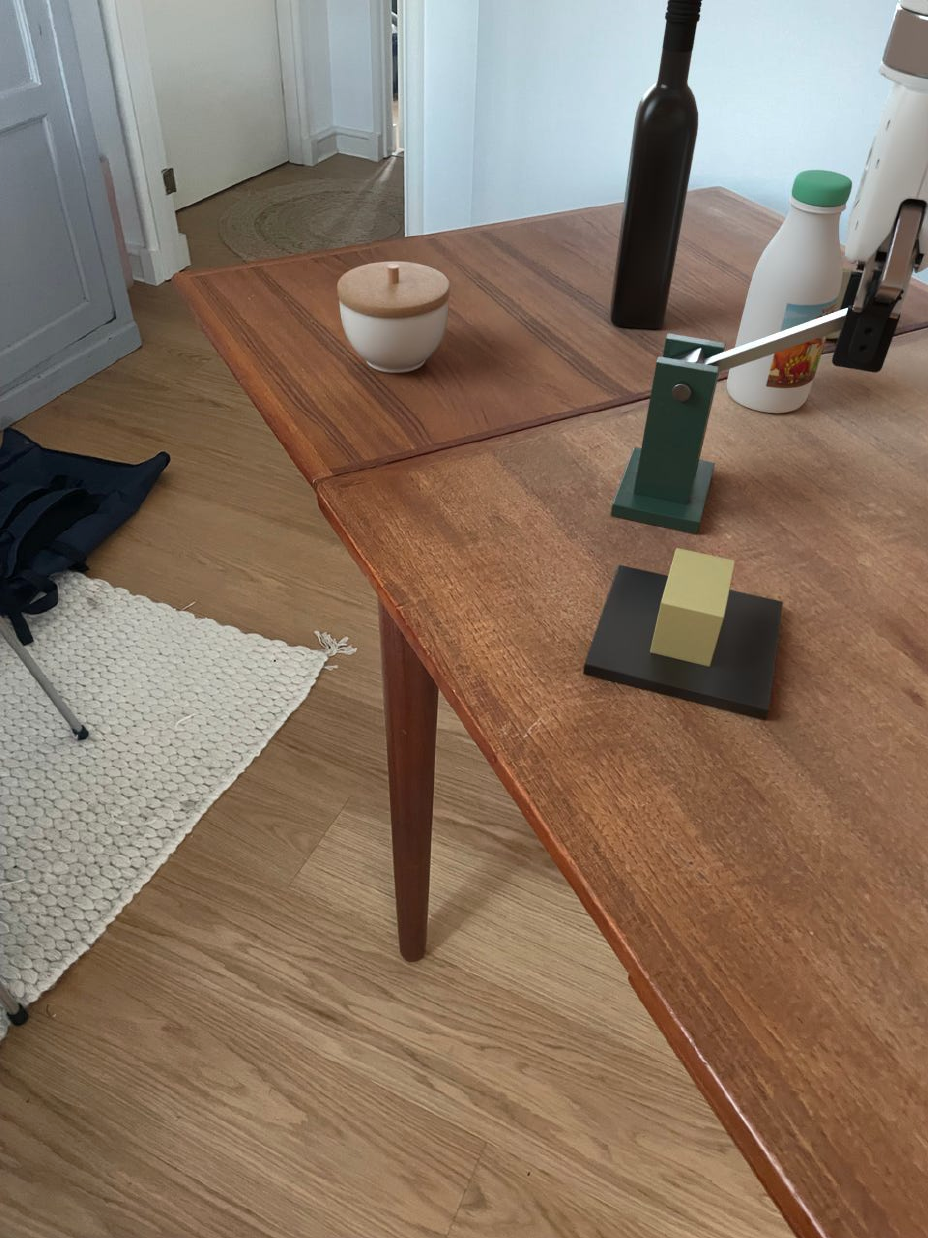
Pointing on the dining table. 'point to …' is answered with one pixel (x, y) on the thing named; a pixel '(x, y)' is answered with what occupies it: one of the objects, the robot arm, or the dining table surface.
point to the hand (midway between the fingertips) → (857, 345)
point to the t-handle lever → (770, 343)
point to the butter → (693, 607)
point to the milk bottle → (793, 294)
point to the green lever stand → (672, 442)
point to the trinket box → (394, 313)
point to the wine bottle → (657, 179)
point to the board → (725, 684)
